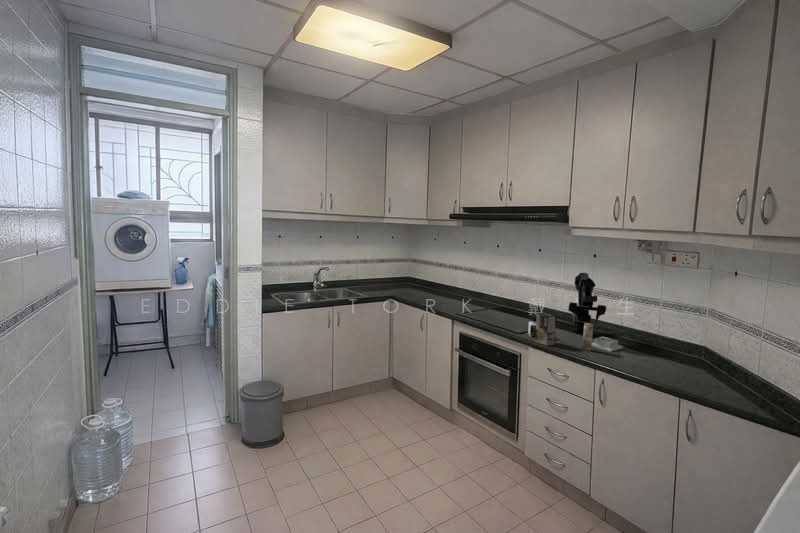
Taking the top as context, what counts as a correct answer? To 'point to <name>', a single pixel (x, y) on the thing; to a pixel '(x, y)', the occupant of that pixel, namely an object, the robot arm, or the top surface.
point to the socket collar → (606, 344)
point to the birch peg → (587, 336)
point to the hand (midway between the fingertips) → (587, 321)
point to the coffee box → (545, 328)
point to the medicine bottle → (532, 326)
